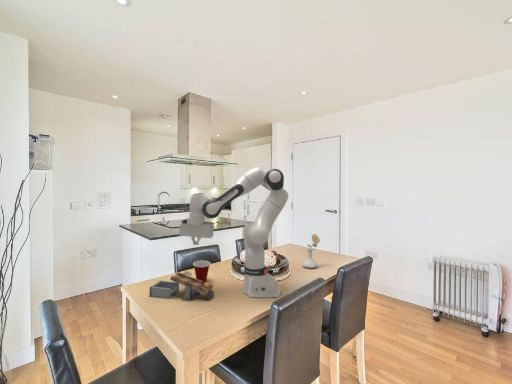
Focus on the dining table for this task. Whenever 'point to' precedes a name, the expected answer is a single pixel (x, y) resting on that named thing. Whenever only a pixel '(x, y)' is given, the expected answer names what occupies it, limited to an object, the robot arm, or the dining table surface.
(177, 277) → the lever
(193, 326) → the dining table surface
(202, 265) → the plastic cup
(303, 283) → the dining table surface
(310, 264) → the flower in vase
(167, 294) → the grey open box
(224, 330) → the dining table surface
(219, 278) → the dining table surface
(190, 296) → the fulcrum
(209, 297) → the rest block
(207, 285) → the ball
